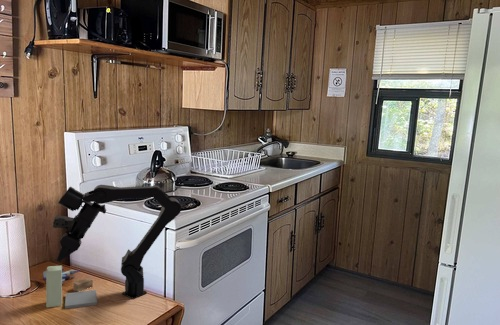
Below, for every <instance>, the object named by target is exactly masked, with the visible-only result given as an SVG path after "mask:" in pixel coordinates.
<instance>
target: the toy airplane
mask: <svg viewBox="0 0 500 325" xmlns="http://www.w3.org/2000/svg"><path fill="white" fill-rule="evenodd" d="M64 269H65V268H63V267H62V283H63V282H65V281H66V280H69V279H70V278H71V279H72V278H73V279H74V278H75V276H74V275H73V274H76V273H79V272H81V271H84V269H83V270H82V269H80V270H75V269H70V270H67V271H64ZM46 271H47V270H45V271H44V270H43V272H42V279H44V280H45V281H46Z"/></svg>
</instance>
